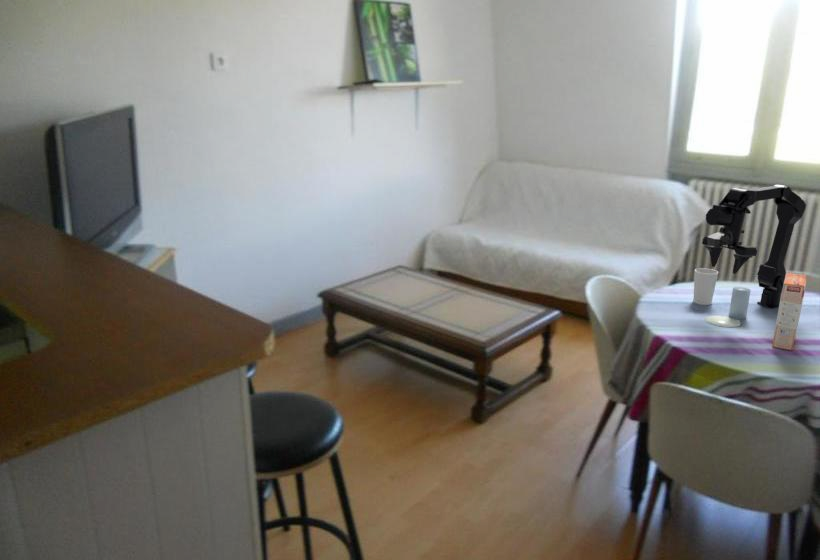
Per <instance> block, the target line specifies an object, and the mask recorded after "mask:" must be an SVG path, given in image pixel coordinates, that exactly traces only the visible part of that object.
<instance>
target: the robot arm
mask: <svg viewBox="0 0 820 560" xmlns="http://www.w3.org/2000/svg"><path fill="white" fill-rule="evenodd" d="M767 200H768V201H769V200H773V203H774V205H775V206H776V216H777V220H778V223H777V227H776V229H775V230H776V231H775V234H774V238H773V241H772V244H771V245H772V246H771V247H770V248H771V249H770V251H769V256H768V258H767V261H766V262H765V263H763V264H760V265H759V267H758V272H757V273H756V275H757V281H758V286H759V287H760V288H762V292H761V296H760V301H757V302H756V303H757V304H759V305H761V306H764V307H766V308H769V309H777V308H778V309H779V304H780V299H781V294H782V289H783V284H784V280H785V277H786V273H787V271H786V267H785V265H784V264H785V263H784V262H785V259H786V255H787V253H788V249H789V246H790V242H791V239H792V234H793V231H794V228H795V224H797V223H798V221H799V220H801V219H802V217H803V215H804V213H805V210H806V207H807V205H806V204H807V203H806V202H805V201H804V199H802V198H801V197H800V196H799V195H798V194H797V193H795V192H794V191H793V190H792V189H791V187H789V186H788V185H783V184H775V185H770V186H764V187H757V188H752V189H750V188H741V187H732V188H730V189H729V191H728V193H726V195H725V196H724V197H723V198H722V199H721V201H720V202H719V203H718V204H713V205H712V208H710V209H708V210H707V212H706V214H705V221H706V223H707V224H708V225H710V226H722V227H720V228H719V231H718V232H714V233H712V234H710V235H705V236H704V237H703V238H702V241H701V244H702V245H704V248H706V249H707V251H708V252H709V256H710V257H709V258H710V263H711V267H712V268H715V267H716V265H717V264H718V261H719V258H720V255H721V253H722V251H723V248H725V249H729V250H733V251H734V252H735V253H733V257H734V263H733V268H732V274H735V275H736V274H737V273H738V271H739V270H741V268H742V267H743V266H744V264H745V263H746V262H747V261H748V260H749V259H751V258H753V257H757V254H758V249H757V247H755V246H752V245H749V244H748V245H747V244H746V245H744V244H742V243H743V241H741V235H742V234H745V230H744V229H743V227H744V224H745V223H744V222H745V218H746V214H751V210H749V208H748V207H750V206H753V205H755V203H757V202H759V201H760V202H761V201H767Z"/></svg>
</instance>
